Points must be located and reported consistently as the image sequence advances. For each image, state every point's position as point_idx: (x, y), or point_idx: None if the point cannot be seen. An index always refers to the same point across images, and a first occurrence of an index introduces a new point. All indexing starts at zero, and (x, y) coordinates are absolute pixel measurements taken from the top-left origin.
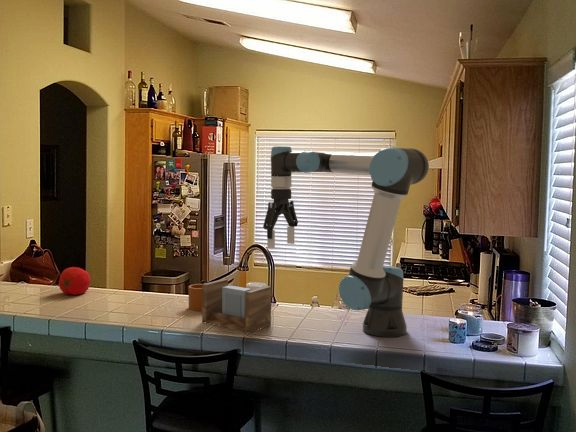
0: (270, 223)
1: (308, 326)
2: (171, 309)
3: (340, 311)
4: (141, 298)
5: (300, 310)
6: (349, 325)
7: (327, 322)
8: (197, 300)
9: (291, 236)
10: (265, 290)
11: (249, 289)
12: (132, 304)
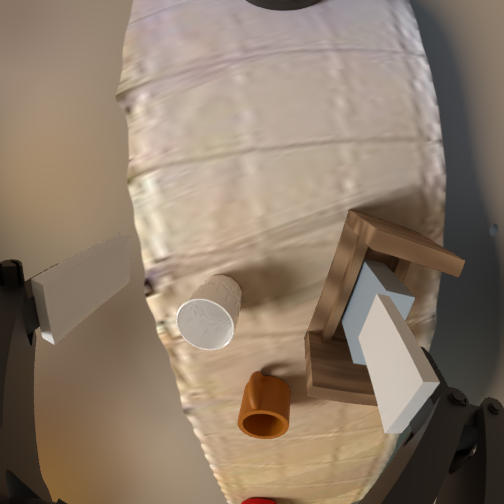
0: (499, 432)
1: (323, 118)
2: (295, 421)
3: (154, 96)
4: (246, 462)
5: (184, 187)
6: (270, 38)
7: (267, 86)
8: (288, 403)
9: (99, 269)
10: (404, 237)
11: (394, 292)
12: (285, 460)
